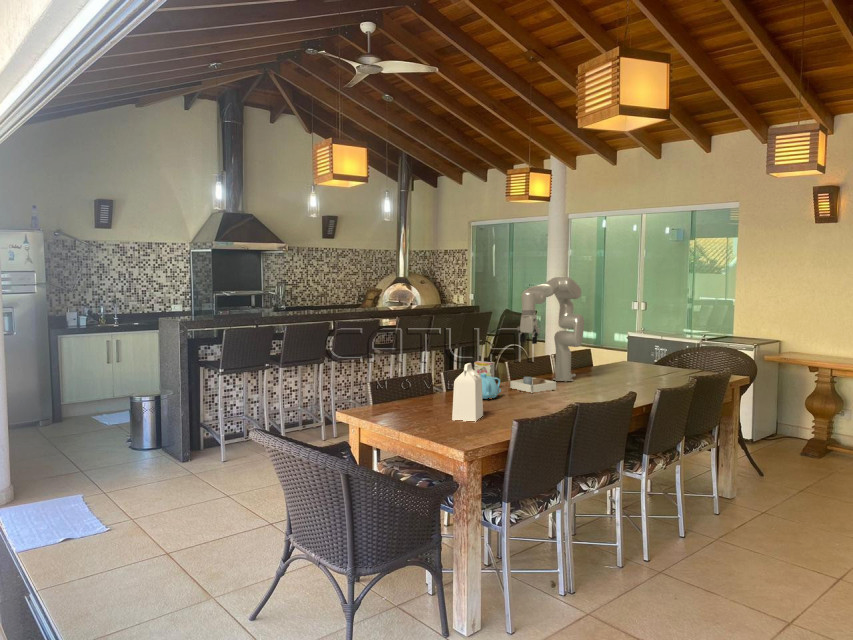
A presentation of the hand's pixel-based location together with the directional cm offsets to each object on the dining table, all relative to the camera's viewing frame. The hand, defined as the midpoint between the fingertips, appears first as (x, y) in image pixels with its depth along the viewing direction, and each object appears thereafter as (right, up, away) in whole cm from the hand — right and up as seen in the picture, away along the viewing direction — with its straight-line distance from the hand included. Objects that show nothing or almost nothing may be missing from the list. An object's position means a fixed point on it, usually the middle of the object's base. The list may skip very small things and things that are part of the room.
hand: (528, 342), depth 371 cm
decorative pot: (-28, -30, -19) cm, 45 cm away
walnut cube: (+7, -26, +7) cm, 28 cm away
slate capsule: (0, -27, +2) cm, 27 cm away
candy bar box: (-25, -28, +5) cm, 38 cm away
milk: (-39, -34, -66) cm, 84 cm away
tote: (+4, -28, +5) cm, 28 cm away
